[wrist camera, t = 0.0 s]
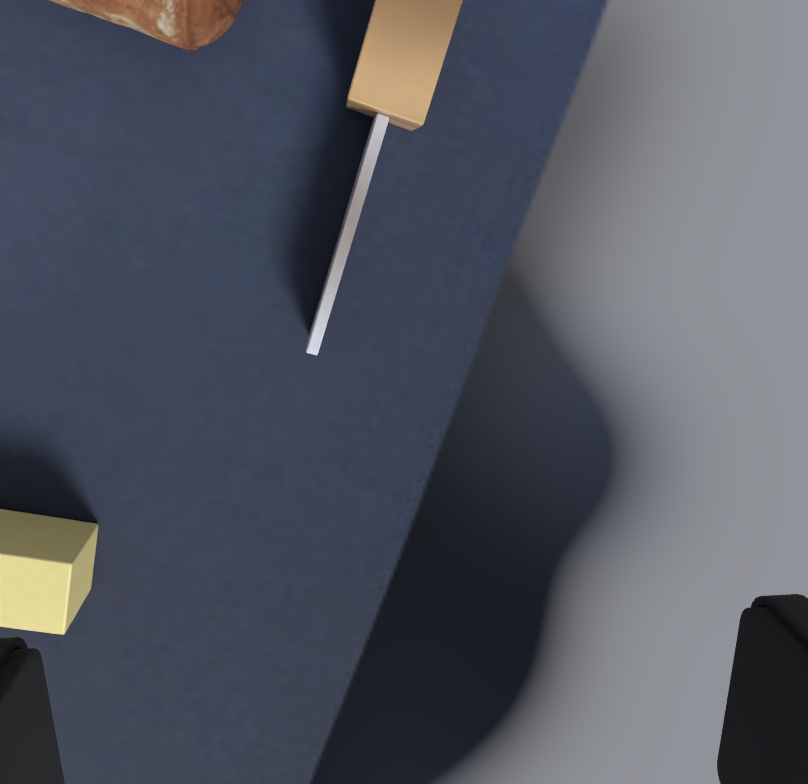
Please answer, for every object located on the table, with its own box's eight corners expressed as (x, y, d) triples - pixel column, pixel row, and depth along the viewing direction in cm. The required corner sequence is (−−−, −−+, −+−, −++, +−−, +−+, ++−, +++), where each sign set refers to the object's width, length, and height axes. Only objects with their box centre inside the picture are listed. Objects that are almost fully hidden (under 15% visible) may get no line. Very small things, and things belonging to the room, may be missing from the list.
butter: (-42, 570, 28) (-85, 616, 25) (-38, 502, 27) (-81, 541, 24) (91, 589, 29) (64, 635, 26) (99, 523, 28) (72, 563, 25)
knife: (345, 347, 27) (345, 370, 24) (282, 328, 26) (275, 350, 23) (481, -90, 23) (504, -130, 20) (410, -120, 22) (422, -166, 19)
